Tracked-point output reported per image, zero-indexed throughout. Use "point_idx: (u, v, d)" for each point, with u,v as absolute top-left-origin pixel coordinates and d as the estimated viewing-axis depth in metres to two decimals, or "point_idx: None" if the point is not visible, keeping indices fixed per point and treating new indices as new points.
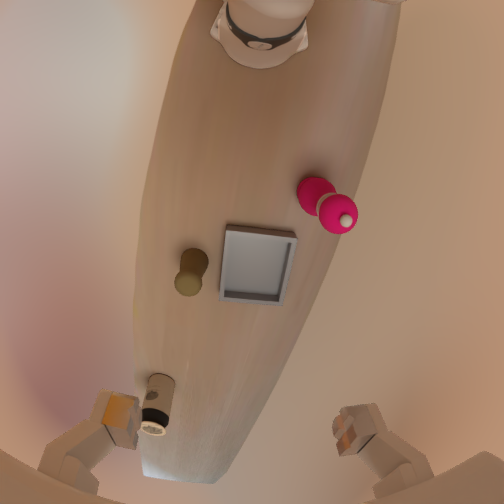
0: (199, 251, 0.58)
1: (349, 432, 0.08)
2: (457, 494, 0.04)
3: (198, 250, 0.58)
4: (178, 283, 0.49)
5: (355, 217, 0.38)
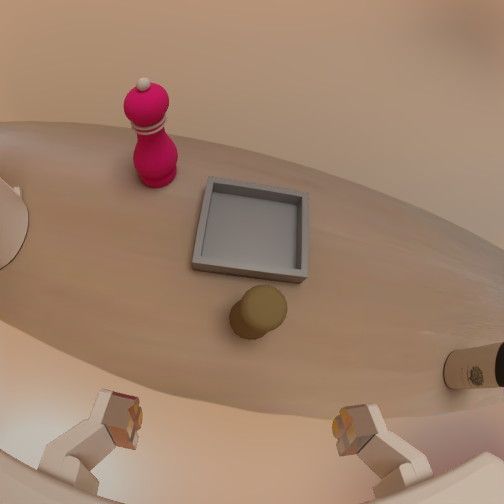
0: (232, 308, 0.38)
1: (349, 432, 0.08)
2: (457, 494, 0.04)
3: (231, 310, 0.38)
4: (259, 321, 0.28)
5: None
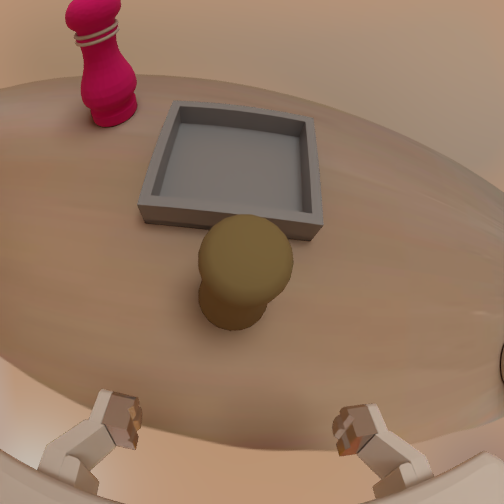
0: None
1: (348, 432, 0.08)
2: (457, 494, 0.04)
3: (201, 283, 0.23)
4: (235, 281, 0.13)
5: None
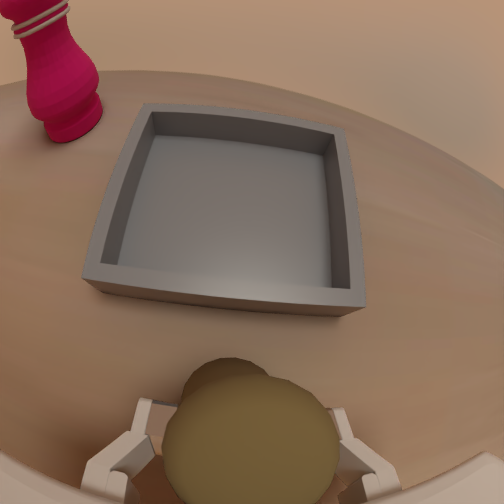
0: (185, 386, 0.14)
1: None
2: (457, 495, 0.04)
3: (184, 389, 0.15)
4: None
5: None
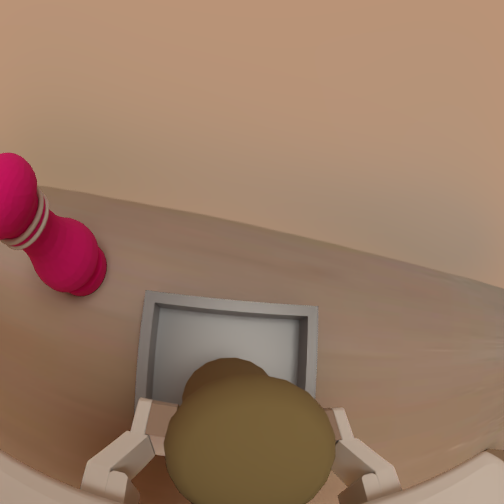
0: (186, 385, 0.15)
1: None
2: (457, 494, 0.04)
3: (185, 388, 0.15)
4: None
5: None
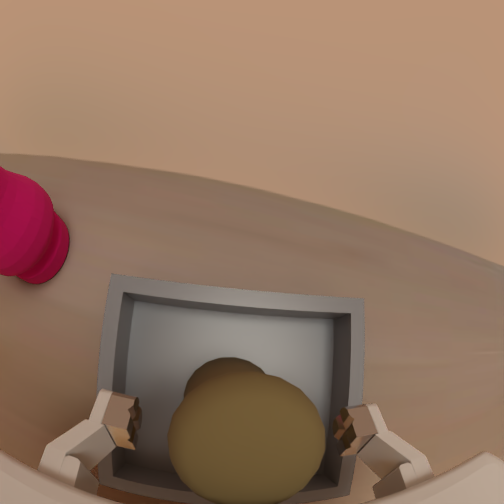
0: (187, 383, 0.16)
1: (349, 432, 0.08)
2: (457, 495, 0.04)
3: (186, 386, 0.16)
4: (229, 500, 0.06)
5: None
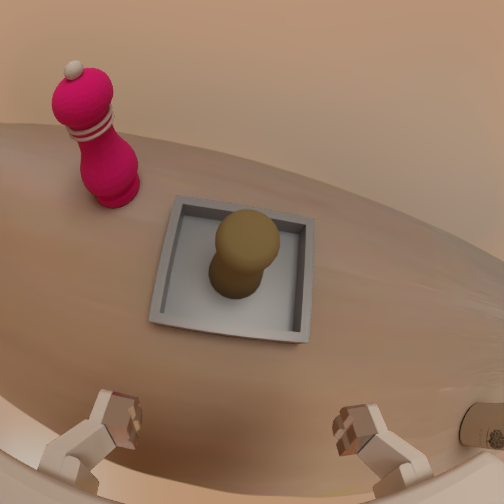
0: (212, 258, 0.30)
1: (348, 432, 0.08)
2: (457, 495, 0.04)
3: (211, 260, 0.30)
4: (240, 253, 0.20)
5: None
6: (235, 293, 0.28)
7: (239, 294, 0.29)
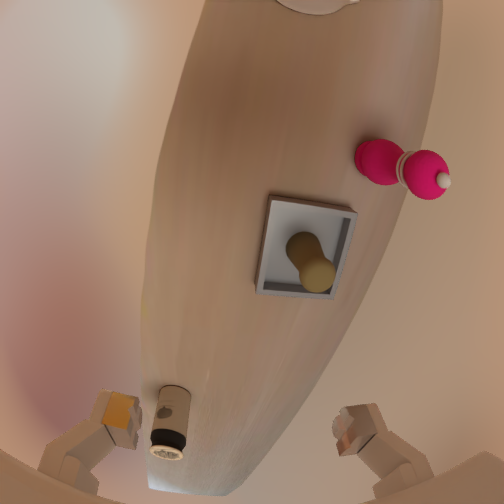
0: (313, 235, 0.45)
1: (349, 432, 0.08)
2: (457, 494, 0.04)
3: (311, 234, 0.45)
4: (309, 274, 0.36)
5: None
6: (289, 251, 0.45)
7: (288, 253, 0.45)
